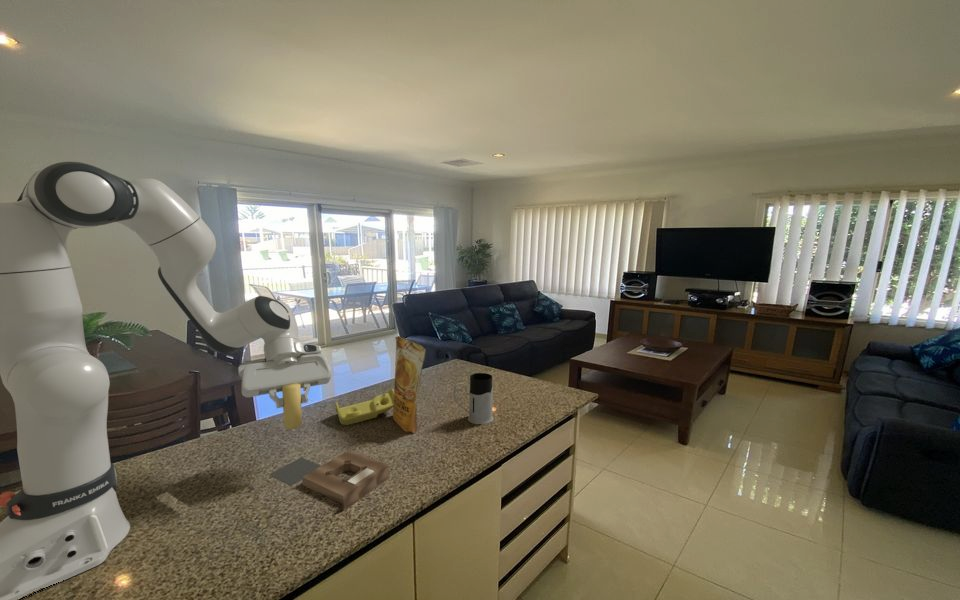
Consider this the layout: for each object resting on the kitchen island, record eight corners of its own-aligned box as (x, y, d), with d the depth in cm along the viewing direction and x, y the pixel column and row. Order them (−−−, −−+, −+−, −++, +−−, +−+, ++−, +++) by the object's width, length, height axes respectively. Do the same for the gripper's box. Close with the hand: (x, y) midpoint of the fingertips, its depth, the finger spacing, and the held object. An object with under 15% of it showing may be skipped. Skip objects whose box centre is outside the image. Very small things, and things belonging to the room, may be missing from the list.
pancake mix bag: (405, 410, 134) (404, 334, 131) (428, 432, 118) (427, 345, 115) (387, 414, 131) (385, 336, 127) (408, 437, 115) (406, 348, 111)
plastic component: (341, 421, 120) (334, 399, 127) (341, 436, 124) (335, 413, 131) (400, 405, 130) (391, 385, 137) (399, 419, 134) (391, 399, 141)
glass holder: (498, 421, 126) (498, 378, 124) (458, 429, 120) (459, 384, 118) (486, 411, 134) (486, 371, 132) (449, 418, 128) (449, 376, 126)
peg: (290, 430, 90) (288, 390, 89) (280, 426, 92) (278, 387, 91) (305, 424, 94) (304, 385, 92) (295, 420, 95) (293, 382, 94)
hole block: (344, 510, 82) (343, 495, 82) (302, 490, 89) (302, 476, 89) (388, 477, 94) (388, 464, 94) (349, 462, 101) (349, 449, 101)
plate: (291, 491, 89) (291, 485, 88) (268, 480, 93) (268, 474, 93) (324, 472, 96) (323, 466, 96) (301, 462, 101) (301, 457, 101)
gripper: (237, 355, 90) (242, 408, 83) (326, 345, 102) (337, 390, 95) (237, 368, 94) (242, 420, 88) (322, 357, 106) (333, 401, 100)
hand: (292, 404), depth 92 cm, fingers closed on peg, 4 cm apart
